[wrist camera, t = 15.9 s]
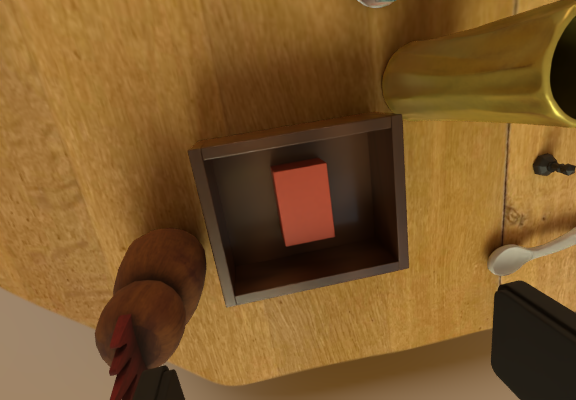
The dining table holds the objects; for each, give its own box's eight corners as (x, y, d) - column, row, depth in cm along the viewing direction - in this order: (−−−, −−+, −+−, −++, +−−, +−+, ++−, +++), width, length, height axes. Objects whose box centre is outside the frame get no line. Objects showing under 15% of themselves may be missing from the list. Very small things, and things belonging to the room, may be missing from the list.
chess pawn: (529, 163, 30) (559, 169, 27) (547, 148, 30) (580, 153, 27) (538, 179, 31) (568, 187, 28) (556, 164, 30) (588, 171, 28)
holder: (228, 272, 29) (226, 307, 24) (197, 141, 25) (187, 150, 20) (381, 240, 30) (409, 268, 25) (371, 111, 27) (402, 113, 21)
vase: (454, 38, 26) (693, -33, 12) (449, 117, 28) (652, 132, 14) (381, 43, 25) (547, -27, 12) (380, 124, 27) (523, 146, 13)
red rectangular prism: (327, 226, 28) (335, 237, 26) (281, 235, 28) (285, 246, 25) (319, 157, 26) (326, 162, 24) (270, 166, 26) (272, 172, 24)
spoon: (479, 249, 32) (496, 258, 30) (581, 209, 33) (604, 215, 31) (482, 275, 33) (498, 285, 31) (581, 235, 34) (603, 242, 32)
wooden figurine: (200, 294, 29) (162, 478, 15) (132, 283, 28) (19, 473, 14) (216, 224, 27) (191, 355, 13) (145, 209, 26) (31, 337, 12)
